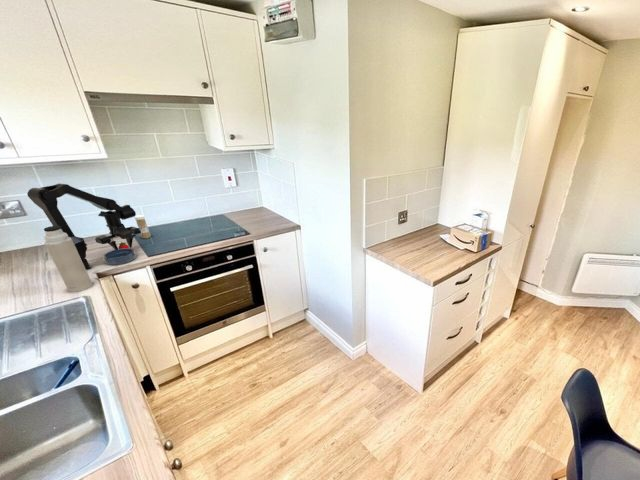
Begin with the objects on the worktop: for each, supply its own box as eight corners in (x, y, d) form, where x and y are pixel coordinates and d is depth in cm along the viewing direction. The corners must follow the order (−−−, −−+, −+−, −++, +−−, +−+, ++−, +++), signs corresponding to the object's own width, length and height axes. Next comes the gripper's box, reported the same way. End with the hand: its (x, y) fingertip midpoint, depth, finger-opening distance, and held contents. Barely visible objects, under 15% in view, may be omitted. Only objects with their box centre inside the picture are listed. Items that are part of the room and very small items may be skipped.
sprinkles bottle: (140, 239, 190) (132, 217, 184) (143, 236, 194) (136, 214, 188) (149, 238, 192) (142, 216, 185) (152, 235, 195) (145, 214, 189)
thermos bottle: (63, 290, 138) (31, 230, 126) (81, 281, 145) (53, 223, 133) (79, 292, 138) (49, 231, 125) (97, 283, 145) (70, 224, 132)
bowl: (115, 267, 158) (112, 260, 157) (100, 262, 162) (97, 255, 161) (141, 257, 169) (139, 251, 167) (127, 253, 173) (124, 246, 171)
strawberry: (123, 254, 172) (119, 244, 169) (118, 252, 173) (114, 242, 171) (132, 251, 175) (128, 241, 173) (127, 249, 177) (123, 239, 174)
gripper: (102, 230, 156) (114, 259, 163) (142, 219, 172) (152, 246, 179) (89, 226, 160) (101, 255, 167) (129, 216, 175) (139, 242, 182)
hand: (124, 249), depth 174 cm, fingers open, 6 cm apart
